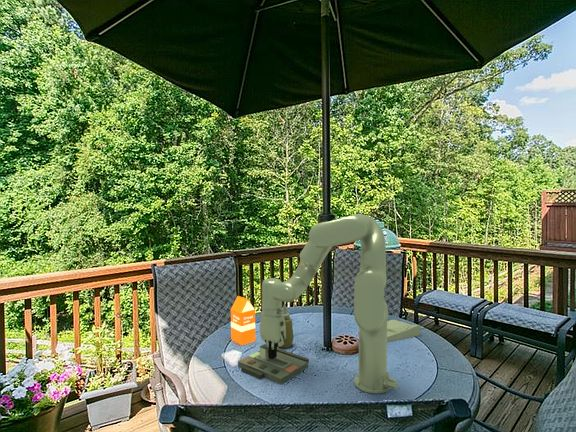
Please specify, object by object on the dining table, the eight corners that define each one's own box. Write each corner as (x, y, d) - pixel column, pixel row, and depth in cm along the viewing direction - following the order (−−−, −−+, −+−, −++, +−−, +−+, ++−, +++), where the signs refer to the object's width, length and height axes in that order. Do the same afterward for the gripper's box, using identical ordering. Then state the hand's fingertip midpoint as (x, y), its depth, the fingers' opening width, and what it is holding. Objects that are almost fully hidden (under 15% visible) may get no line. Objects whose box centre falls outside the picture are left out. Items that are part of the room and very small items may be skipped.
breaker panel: (307, 367, 138) (307, 360, 138) (281, 384, 126) (281, 376, 125) (265, 352, 152) (265, 345, 152) (238, 366, 139) (237, 359, 139)
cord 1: (263, 377, 130) (263, 373, 130) (260, 379, 129) (260, 375, 129) (244, 369, 137) (244, 365, 137) (241, 371, 135) (241, 367, 135)
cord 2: (308, 362, 142) (308, 358, 142) (306, 364, 141) (306, 360, 140) (274, 350, 153) (274, 347, 153) (272, 352, 152) (272, 348, 152)
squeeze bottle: (291, 350, 154) (291, 309, 153) (273, 348, 155) (273, 308, 154) (295, 342, 161) (295, 303, 160) (277, 341, 163) (277, 302, 162)
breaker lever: (270, 358, 141) (270, 345, 141) (265, 360, 139) (265, 348, 139) (265, 356, 143) (264, 343, 143) (259, 358, 141) (259, 346, 141)
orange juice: (241, 345, 159) (240, 301, 158) (230, 339, 166) (230, 297, 165) (255, 340, 164) (255, 297, 163) (244, 335, 171) (244, 293, 170)
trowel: (366, 344, 160) (366, 332, 160) (357, 331, 176) (357, 320, 176) (427, 342, 162) (427, 330, 162) (412, 329, 178) (413, 318, 177)
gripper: (293, 312, 136) (293, 359, 137) (264, 305, 145) (265, 349, 146) (280, 317, 130) (281, 367, 131) (251, 309, 139) (251, 355, 140)
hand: (272, 357), depth 139 cm, fingers closed
